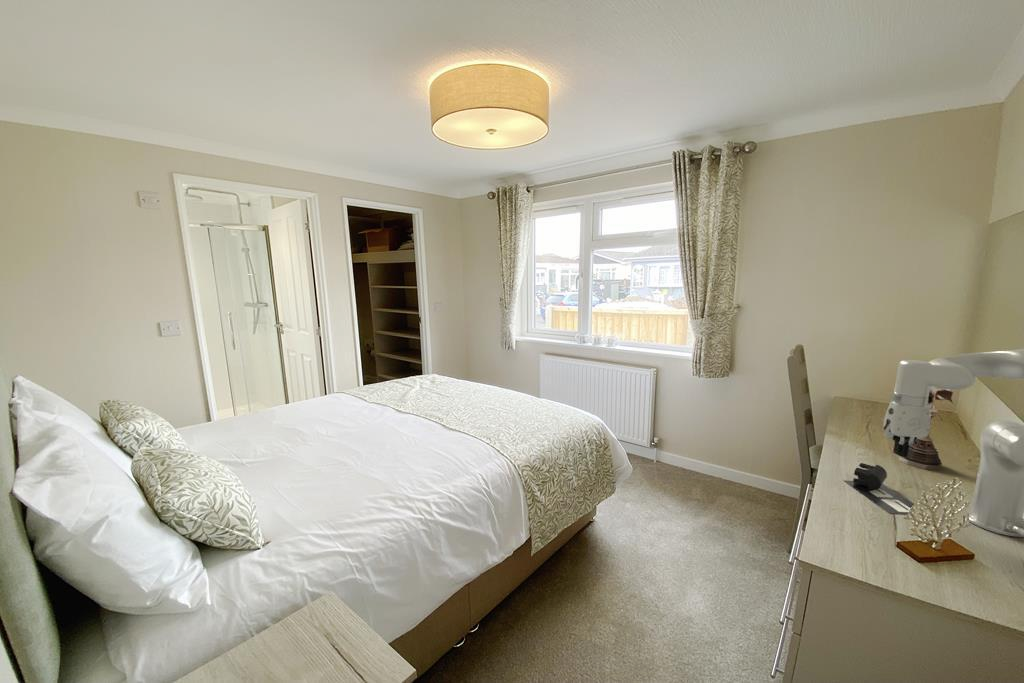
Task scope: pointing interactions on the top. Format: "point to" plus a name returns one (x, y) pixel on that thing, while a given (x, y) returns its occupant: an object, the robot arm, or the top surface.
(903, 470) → the top surface
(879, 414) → the top surface
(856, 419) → the top surface
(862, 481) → the end cap
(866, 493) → the label panel
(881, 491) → the far label
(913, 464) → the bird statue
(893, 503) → the near label
